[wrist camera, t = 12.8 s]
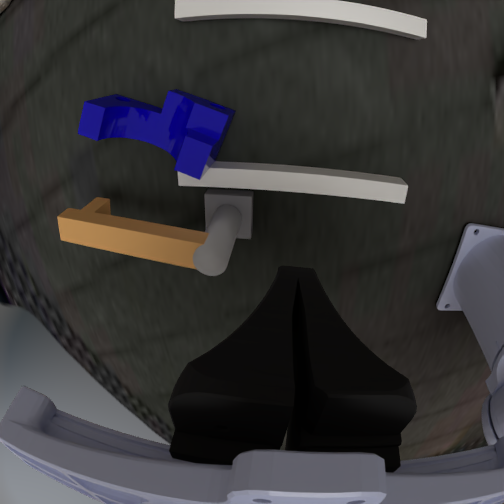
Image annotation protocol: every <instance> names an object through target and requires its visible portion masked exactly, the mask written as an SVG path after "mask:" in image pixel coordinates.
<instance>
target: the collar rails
mask: <svg viewBox="0 0 504 504" xmlns="http://www.w3.org/2000/svg"><path fill="white" fill-rule="evenodd" d="M234 18H268V19H291V20H305V21H316V22H325V23H333V24H341V25H348V26H354V27H360V28H366V29H371V30H377V31H382V32H386V33H391V34H395V35H400V36H404V37H408V38H412V39H416V40H419V39H424V38H426V29H427V20H426V19H423V18H419V17H416V16H412V15H408V14H404V13H400V12H396V11H392V10H388V9H383V8H378V7H374V6H368V5H363V4H357V3H351V2H345V1H338V0H175V19H177V20H180V21H182V22H185V21H196V20H210V19H234ZM178 184H179V186H201V187H224V188H242V189H259V190H274V191H287V192H300V193H312V194H323V195H333V196H343V197H353V198H362V199H371V200H379V201H387V202H395V203H403V204H404V203H405V199H406V194H407V189H408V185H407V184H406V183H405V182H404V181H403V179H402V178H399V177H392V176H385V175H378V174H370V173H363V172H354V171H346V170H337V169H327V168H317V167H305V166H293V165H280V164H264V163H246V162H222V161H215V162H214V163H213V164H212V166H211V167H210V168H209V169H208V171H207V172H206V173H205V174H204V176H203V177H202V178H201V179H200V180H198V179H196V178H193V177H191V176H188V175H186V174H183V173H181V172H178ZM253 193H254V191H244V190H226V189H207V191H206V192H205V194H204V198H205V221H206V228H207V226H208V224H209V222H210V220H211V218H212V217H213V215H214V213H215V211H216V209H217V208H218V207H220V206H222V205H231V206H234V207H235V208H237V209H238V210H239V212H240V213H241V217H242V220H241V224H240V227H239V230H238V233H237V236H236V238H241V239H251V236H252V230H253Z"/></svg>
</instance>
